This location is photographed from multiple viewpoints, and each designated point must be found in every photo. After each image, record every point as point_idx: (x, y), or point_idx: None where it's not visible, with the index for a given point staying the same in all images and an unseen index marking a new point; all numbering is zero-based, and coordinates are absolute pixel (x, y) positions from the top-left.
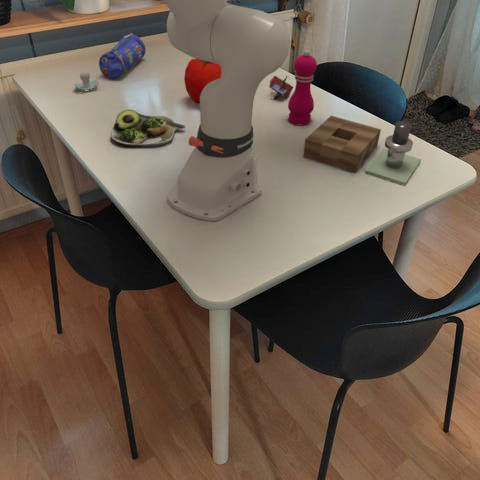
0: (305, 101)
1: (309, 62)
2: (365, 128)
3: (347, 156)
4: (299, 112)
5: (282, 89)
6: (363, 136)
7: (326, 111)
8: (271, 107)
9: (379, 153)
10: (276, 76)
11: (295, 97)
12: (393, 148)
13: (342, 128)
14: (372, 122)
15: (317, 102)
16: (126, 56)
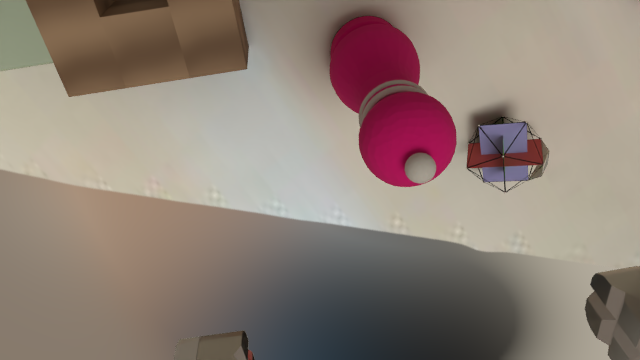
0: (350, 61)
1: (382, 134)
2: (104, 67)
3: None
4: (355, 30)
5: (494, 147)
6: (65, 10)
7: (332, 152)
8: (483, 63)
9: (35, 25)
10: (540, 176)
11: (390, 52)
12: None
13: (156, 11)
14: (196, 182)
15: None
16: None
